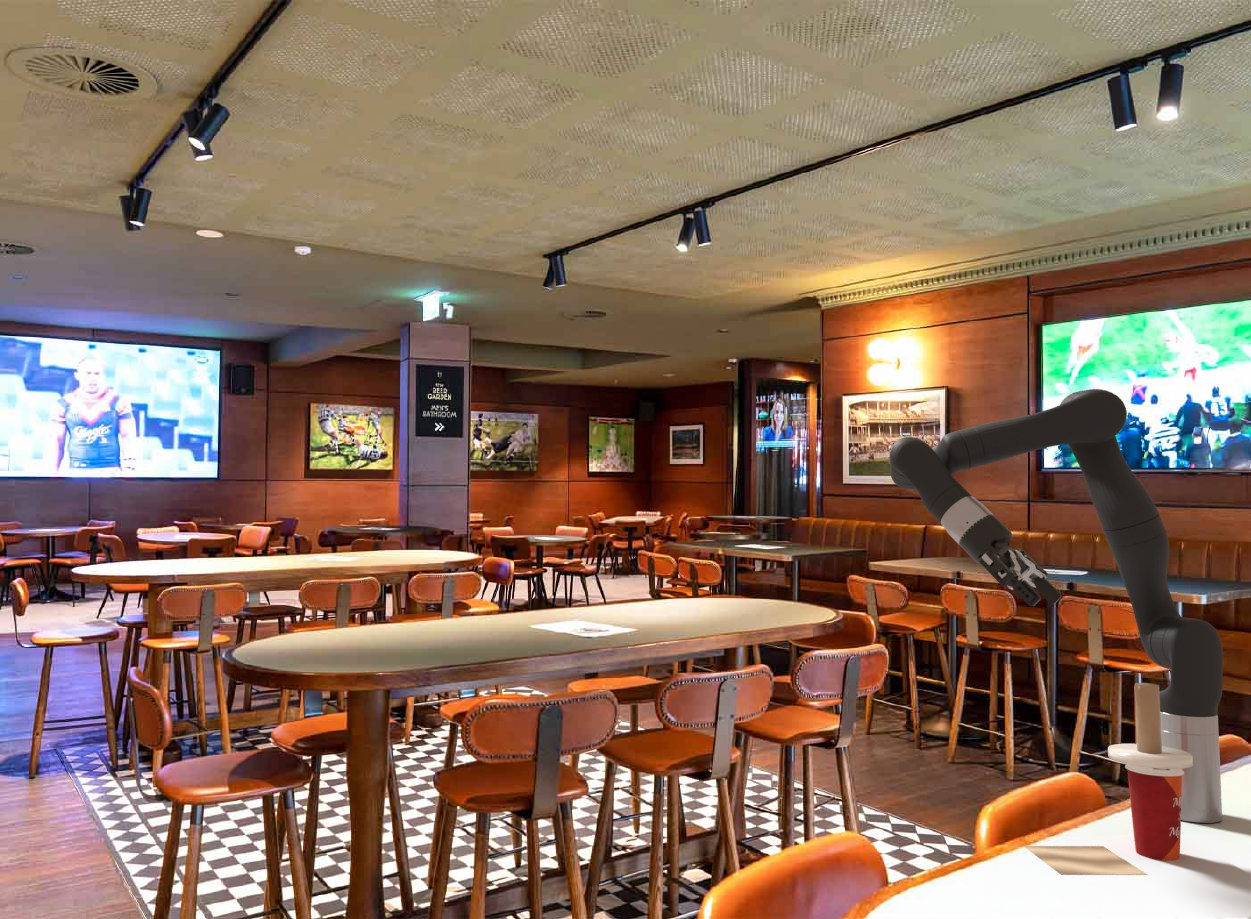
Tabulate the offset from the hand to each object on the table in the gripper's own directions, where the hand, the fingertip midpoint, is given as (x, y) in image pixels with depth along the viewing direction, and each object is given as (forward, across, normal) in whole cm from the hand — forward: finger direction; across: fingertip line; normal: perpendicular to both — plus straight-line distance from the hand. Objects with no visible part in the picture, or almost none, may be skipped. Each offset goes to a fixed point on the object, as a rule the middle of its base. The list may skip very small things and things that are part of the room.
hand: (1047, 601), depth 151 cm
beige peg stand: (+26, +2, +7) cm, 26 cm away
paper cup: (+36, +2, +16) cm, 39 cm away
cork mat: (+31, -8, +21) cm, 38 cm away
